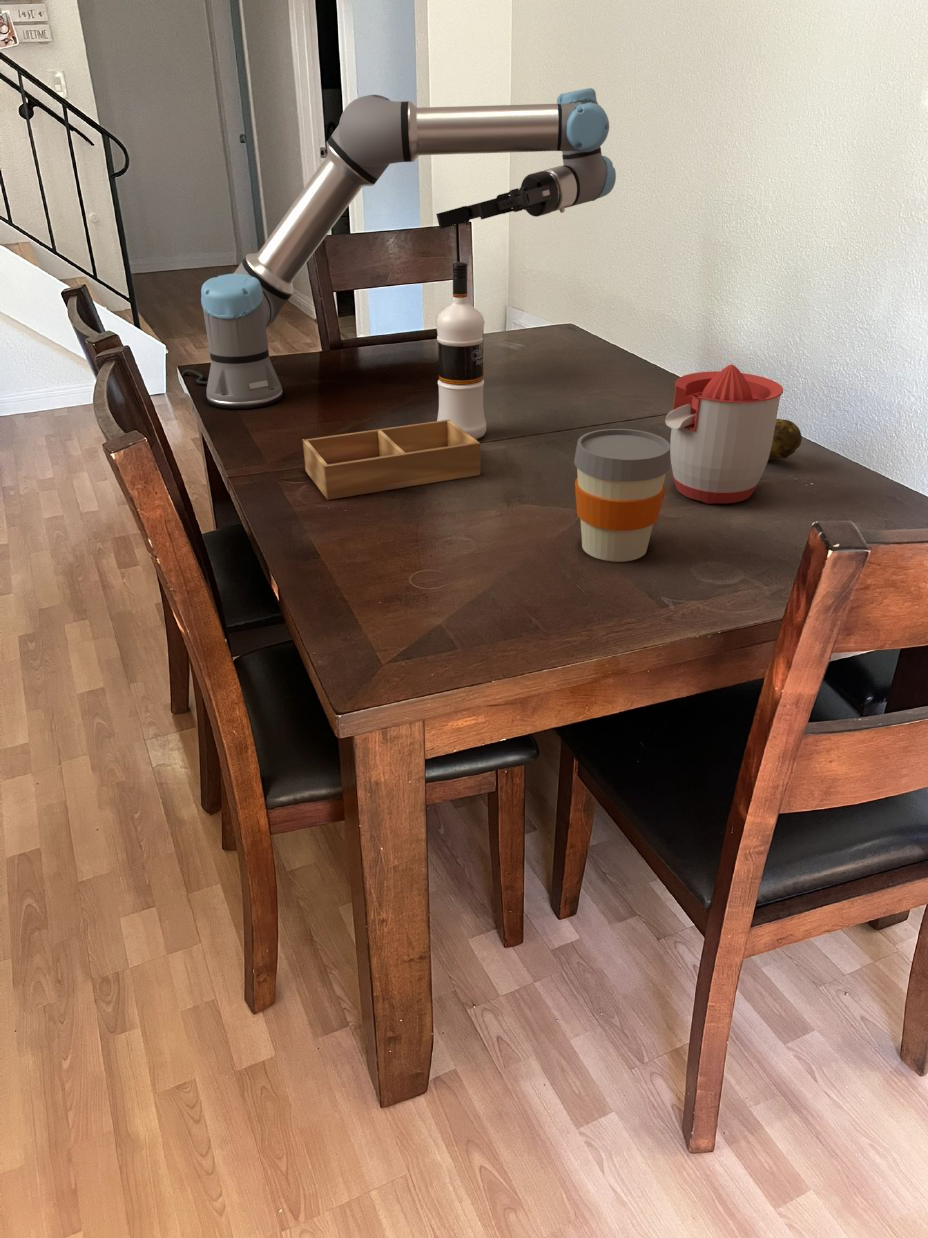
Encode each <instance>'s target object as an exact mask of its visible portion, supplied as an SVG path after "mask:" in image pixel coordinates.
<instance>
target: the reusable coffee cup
mask: <svg viewBox="0 0 928 1238" xmlns="http://www.w3.org/2000/svg"><path fill="white" fill-rule="evenodd" d="M574 454H575V455H574V460H573V461H574V466H575V467H576V473H577V477H576V478H575V481H574V489H575V502H576V503H575V504H576V515H577V517H578V518H579V520H580V532H581V535H580V536H581V548H582V550H583V551H584V552H585V553H586V554H587V555H589V556H591V557H592V558H595V559H599V560H602V561H606V562H618V563H619V562H620V563H621V562H622V563H623V562H630V561H635V560H638V559H641V558H642V557H643V556H645V555H646V554H647V550H648V546H649V544H650V538H651V535H652V532H653V531H652V530H653V528H654V524H655V523H657V521H658V519H659V516H660V512H661V508H662V504H663V500H664V496H665V492H666V489H667V487H666V484H665V480H666V475H667V473H668V472H669V471H670V469H671V456H670V442H669V441H668V440H667V439H666V438H664V437H662V436H660V435H657V434H655V433H652V432H650V431H649V432H648V431H644V430H638V429H629V428H605V429H598V430H593V431H590V432H587V433H585V434H583V435H581V436H580V437H579V438H578V439H577V442H576V449H575V453H574Z"/></svg>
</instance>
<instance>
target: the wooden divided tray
mask: <svg viewBox="0 0 928 1238" xmlns="http://www.w3.org/2000/svg"><path fill="white" fill-rule="evenodd" d="M302 448H303V457H304V469H305V473H307V475H308V476H309V478H310V479H311V480H312V481H313V483H314V484H315V485H316V487H317V488H318V489H319V491H320V492H321V493H322V495H323V496H324V497H325V499H326V500H327V501H329V500H337V499H343V498H348V497H354V496H359V495H365V494H366V495H367V494H372V493H379V492H384V491H391V490H397V489H403V488H409V487H415V486H421V485H427V484H434V483H439V482H440V483H441V482H446V481H451V480H457V479H465V478H471V477H476V476H481V442H480V441H478V439H477V440H476V439H474V438H473V437H472V436H470V435H469V434H468V433H466V432H465V431H464V430H462V429H461V428H460V427H458V426H457V425H456V424H454V423H453V422H452V421H450V420H442V421H437V420H436V421H428V422H421V423H413V424H407V425H400V426H393V427H392V426H391V427H385V428H378V429H372V430H371V429H370V430H362V431H356V432H350V433H343V434H335V435H328V436H322V437H313V438H306V439H302Z"/></svg>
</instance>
